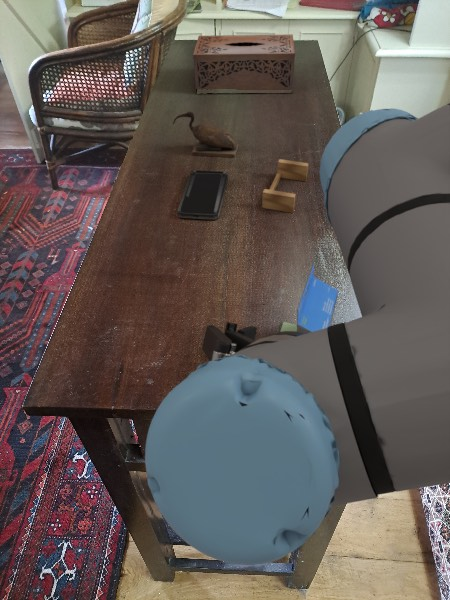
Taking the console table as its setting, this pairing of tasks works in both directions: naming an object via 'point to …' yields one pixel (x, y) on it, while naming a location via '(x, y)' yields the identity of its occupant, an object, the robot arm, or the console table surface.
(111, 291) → the console table surface
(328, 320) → the blue grey carton
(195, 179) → the phone
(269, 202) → the tape holder
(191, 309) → the console table surface
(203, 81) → the tissue box cover
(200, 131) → the figurine
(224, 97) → the console table surface
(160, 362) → the console table surface
